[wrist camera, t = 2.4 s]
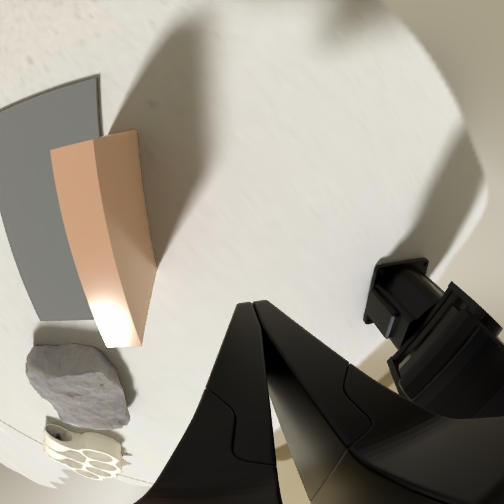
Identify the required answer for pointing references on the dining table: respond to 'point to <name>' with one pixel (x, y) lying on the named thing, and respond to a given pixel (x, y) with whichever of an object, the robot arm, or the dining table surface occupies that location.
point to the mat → (44, 194)
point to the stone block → (78, 385)
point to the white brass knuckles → (84, 452)
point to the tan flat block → (108, 231)
